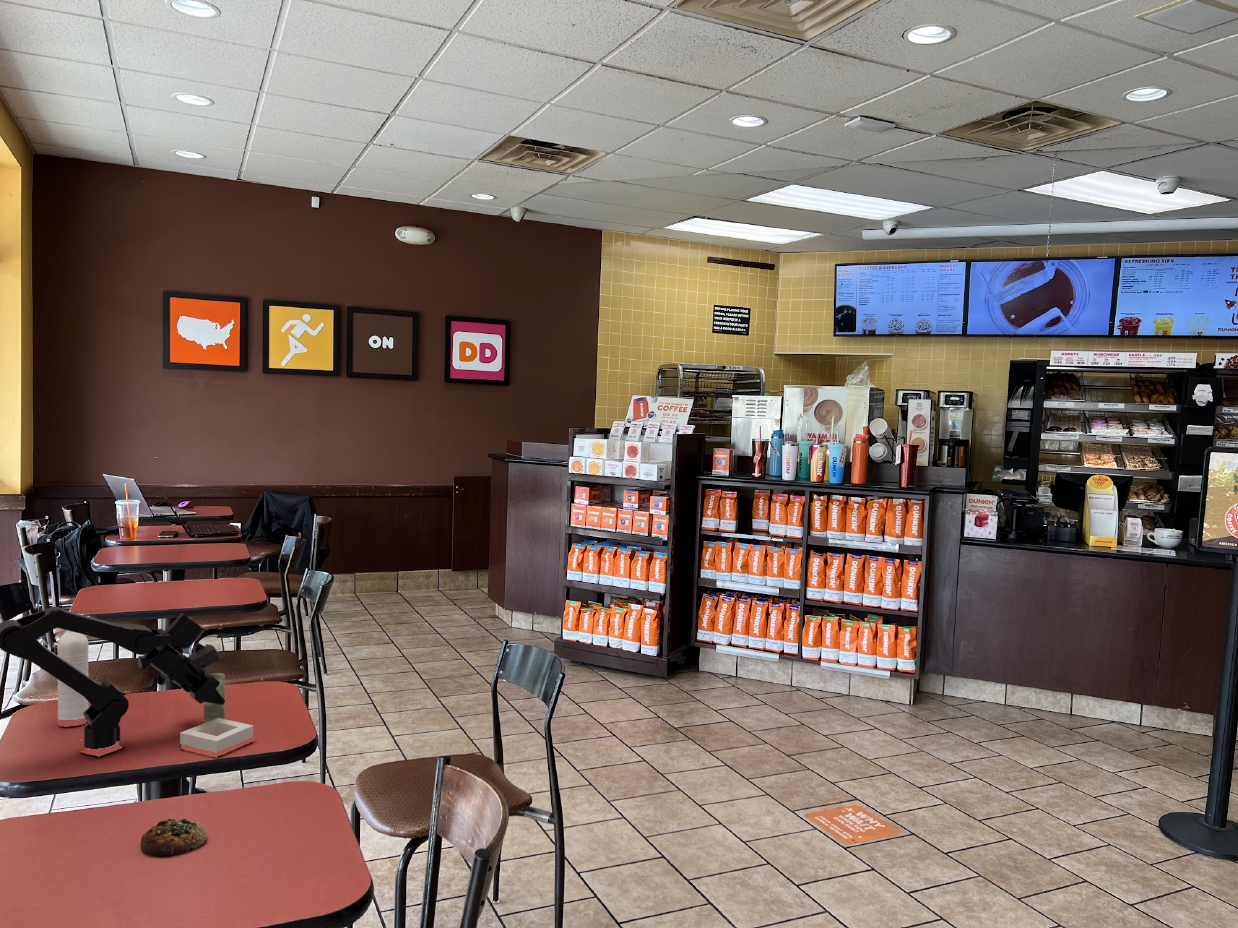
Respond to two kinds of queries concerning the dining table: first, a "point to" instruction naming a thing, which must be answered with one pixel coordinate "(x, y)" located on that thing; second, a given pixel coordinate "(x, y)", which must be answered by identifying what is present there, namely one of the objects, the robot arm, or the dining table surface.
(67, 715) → the water bottle
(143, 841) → the bread roll
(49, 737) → the dining table surface
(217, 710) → the green peg
